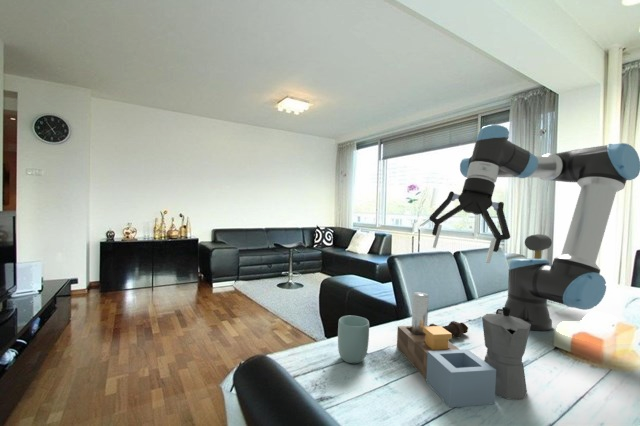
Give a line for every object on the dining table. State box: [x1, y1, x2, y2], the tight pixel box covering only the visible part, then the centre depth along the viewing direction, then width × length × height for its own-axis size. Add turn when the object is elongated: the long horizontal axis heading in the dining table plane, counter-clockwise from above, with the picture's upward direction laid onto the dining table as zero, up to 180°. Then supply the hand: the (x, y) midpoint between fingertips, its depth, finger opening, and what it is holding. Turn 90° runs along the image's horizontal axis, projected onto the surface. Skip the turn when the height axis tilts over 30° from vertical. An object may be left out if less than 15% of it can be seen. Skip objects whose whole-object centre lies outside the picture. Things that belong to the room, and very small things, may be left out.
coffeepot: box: [481, 306, 531, 401], centre depth 69 cm, size 15×9×18 cm, turn 159°
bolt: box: [428, 320, 469, 339], centre depth 95 cm, size 6×5×15 cm
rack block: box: [425, 348, 496, 408], centre depth 66 cm, size 10×9×7 cm
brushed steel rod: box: [411, 291, 430, 336], centre depth 84 cm, size 4×4×16 cm
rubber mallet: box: [524, 233, 552, 259], centre depth 141 cm, size 12×8×30 cm, turn 125°
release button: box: [423, 325, 453, 350], centre depth 75 cm, size 5×5×7 cm
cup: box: [337, 314, 370, 364], centre depth 79 cm, size 8×8×10 cm
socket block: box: [396, 324, 461, 380], centre depth 79 cm, size 9×16×6 cm, turn 10°
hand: (459, 255), depth 84 cm, fingers open, 13 cm apart
